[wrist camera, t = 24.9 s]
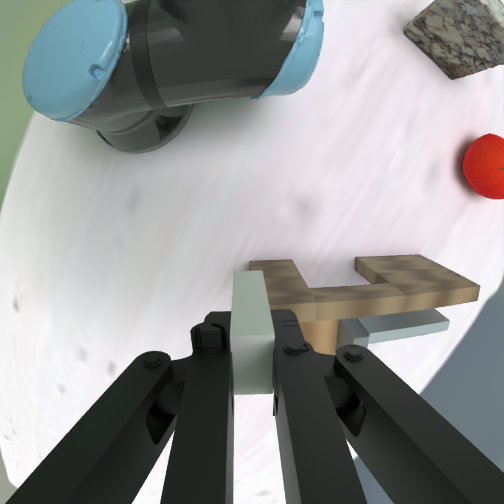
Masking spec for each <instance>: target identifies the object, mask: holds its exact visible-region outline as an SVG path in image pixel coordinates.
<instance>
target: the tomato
mask: <svg viewBox="0 0 504 504" xmlns="http://www.w3.org/2000/svg"><path fill="white" fill-rule="evenodd" d="M463 173H464V175H465V177H466V179H467V181H468V182H469V184H470V186H471V187H472V188H473V189H474V190H475V191H476V192H477V193H478V194H479V195H482V196H484V197H486V198H490V199H504V139H503V138H501V137H500V136H498V135H494V134H490V133H489V134H486V135H484V136H481V137H479V138H478V139H477V140H476V141H475V142H473V143H472V144H471V145H470V146H469V148H468V149H467V151H466V153H465V156H464V161H463Z"/></svg>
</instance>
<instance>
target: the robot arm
mask: <svg viewBox="0 0 504 504" xmlns="http://www.w3.org/2000/svg"><path fill="white" fill-rule="evenodd" d="M323 13H324V9H323V2H322V0H137V1H133V2H130V3H126V4H123V3H122V2H121V1H120V0H73V1H71V2H69V3H68V4H66V5H65V6H63V7H62V8H61V9H59V10H58V11H57V12H56V13H55V14H54V15H52V16H51V17H50V19H49V20H48V21H47V22H46V23H45V24H44V25H43V27H42V28H41V30H40V32H39V34H38V35H37V36H36V37H35V39H34V41H33V42H32V44H31V47H30V49H29V51H28V54H27V56H26V59H25V63H24V68H23V77H22V79H23V80H22V82H23V91H24V94H25V97H26V99H27V101H28V103H29V104H30V105H31V106H32V107H33V108H34V110H36V111H37V112H39V113H41V114H43V115H45V116H47V117H49V118H50V119H52V120H55V121H60V122H61V121H64V122H68V123H72V124H76V125H80V126H83V127H87V128H91V129H94V130H96V131H97V133H98V134H99V136H100V137H101V138H102V139H103V140H104V141H105V142H106V143H107V144H109V145H110V146H112V147H114V148H116V149H118V150H121V151H126V152H131V153H143V152H148V151H152V150H155V149H157V148H159V147H161V146H163V145H165V144H166V143H168V142H169V141H171V140H172V139H173V138H174V137H175V136H176V135H177V134H178V133H179V132H180V131H181V129H182V128H183V127H184V125H185V124H186V122H187V120H188V118H189V115H190V113H191V109H192V105H193V103H200V102H208V101H216V100H226V99H236V98H249V97H250V98H251V99H260V98H263V97H265V96H277V95H289V94H292V93H295V92H296V91H298V90H299V89H301V88H303V87H304V86H305V85H306V83H307V82H308V81H309V79H310V78H311V76H312V74H313V72H314V70H315V67H316V65H317V62H318V59H319V55H320V51H321V47H322V41H323V34H324V23H323V22H322V16H323ZM190 333H191V341H192V348H193V352H192V355H191V356H189V357H186V358H183V359H178V360H172V361H171V358H170V356H169V355H168V354H167V353H164V352H161V351H149V352H145V353H143V354H141V355H139V356H138V357H137V358H135V360H134V361H133V362H132V363H131V364H130V365H129V366H128V367H127V368H126V369H125V370H124V372H123V373H122V374H121V375H120V376H119V377H118V378H117V379H116V380H115V381H114V382H113V383H112V385H111V386H110V387H109V388H108V389H107V390H106V391H105V392H104V393H103V394H102V395H101V397H100V398H99V399H98V400H97V401H96V402H95V403H94V404H93V405H92V406H91V408H90V409H89V410H88V411H87V412H86V413H85V414H84V415H83V416H82V417H81V419H80V420H79V421H78V422H77V423H76V424H75V425H74V426H73V427H72V429H71V430H70V431H69V432H68V433H67V434H66V435H65V436H64V437H63V439H62V440H61V441H60V442H59V443H58V444H57V445H56V446H55V448H54V449H53V450H52V451H51V452H50V453H49V454H48V455H47V456H46V458H45V459H44V460H43V461H42V462H41V463H40V464H39V466H38V467H37V468H36V469H35V470H34V471H33V472H32V473H31V475H30V476H29V477H28V478H27V479H26V480H25V481H24V483H23V484H22V485H21V486H20V487H19V488H18V489H17V491H16V492H15V493H14V494H13V495H12V496H11V498H10V499H9V500H8V501H7V502H6V503H5V504H132V502H133V501H134V499H135V497H136V496H137V494H138V492H139V490H140V489H141V487H142V485H143V484H144V482H145V480H146V479H147V477H148V475H149V473H150V472H151V470H152V468H153V467H154V465H155V463H156V461H157V460H158V458H159V456H160V454H161V453H162V451H163V449H164V448H165V446H166V444H167V442H168V441H169V439H170V437H171V435H172V434H173V432H174V430H175V432H174V436H173V441H172V446H171V451H170V455H169V460H168V465H167V470H166V475H165V481H164V486H163V491H162V496H161V502H160V504H233V458H234V395H244V394H272V393H273V390H274V402H273V416H275V419H276V426H277V434H278V442H279V450H280V458H281V466H282V474H283V482H284V490H285V498H286V504H367V501H366V498H365V495H364V492H363V489H362V486H361V483H360V480H359V477H358V474H357V471H356V468H355V465H354V462H353V459H352V456H351V453H350V450H349V447H348V444H347V441H348V442H349V443H350V445H351V446H352V448H353V449H354V450H355V452H356V453H357V455H358V456H359V457H360V459H361V460H362V461H363V463H364V464H365V465H366V467H367V468H368V470H369V471H370V472H371V474H372V475H373V476H374V478H375V479H376V480H377V481H378V483H379V484H380V486H381V487H382V488H383V490H384V491H385V492H386V493H387V495H388V496H389V498H390V499H391V500H392V502H393V503H394V504H504V473H503V472H502V471H501V470H500V469H499V468H498V467H497V466H496V465H495V464H494V463H493V462H492V461H490V460H489V459H488V458H487V457H486V456H485V455H484V454H483V453H482V452H481V451H479V450H478V449H477V448H476V447H475V446H474V445H473V444H472V443H471V442H470V441H469V440H468V439H466V438H465V437H464V436H463V435H462V434H461V433H460V432H459V431H458V430H457V429H455V427H453V426H452V425H451V424H450V423H449V422H448V421H447V420H446V419H445V418H443V416H441V415H440V414H439V413H438V412H437V411H436V410H435V409H434V408H433V407H431V406H430V405H429V404H428V403H427V402H426V401H425V400H424V399H423V398H422V397H420V396H419V395H418V394H417V393H416V392H415V391H414V390H413V389H412V388H411V387H410V386H408V385H407V384H406V383H405V382H404V381H403V380H402V379H401V378H400V377H399V376H397V375H396V374H395V373H394V372H393V371H392V370H391V369H390V368H389V367H387V366H386V365H385V364H384V363H383V362H382V361H381V360H380V359H379V358H378V357H376V356H375V355H374V354H373V353H372V352H371V351H370V350H368V349H367V348H365V347H363V346H360V345H354V344H349V345H344V346H341V347H339V348H338V349H337V350H336V353H335V355H330V354H322V353H318V352H315V351H314V349H313V347H312V345H311V344H310V343H308V342H307V341H305V339H304V336H303V333H302V330H301V328H300V326H299V322H298V319H297V316H296V314H295V313H294V312H293V311H291V310H290V309H272V310H270V307H269V302H268V297H267V292H266V286H265V281H264V276H263V271H262V270H257V271H234V282H233V296H232V310H231V311H222V312H210V313H209V314H208V315H207V316H206V317H205V320H204V322H203V323H200V324H197V325H196V326H194V327H193V328H192V329H191V331H190ZM346 439H347V441H346Z"/></svg>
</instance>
